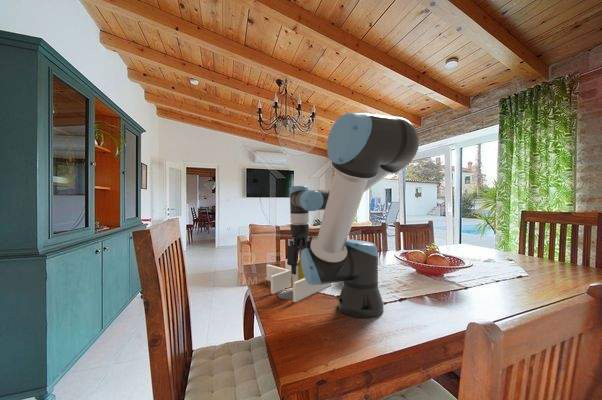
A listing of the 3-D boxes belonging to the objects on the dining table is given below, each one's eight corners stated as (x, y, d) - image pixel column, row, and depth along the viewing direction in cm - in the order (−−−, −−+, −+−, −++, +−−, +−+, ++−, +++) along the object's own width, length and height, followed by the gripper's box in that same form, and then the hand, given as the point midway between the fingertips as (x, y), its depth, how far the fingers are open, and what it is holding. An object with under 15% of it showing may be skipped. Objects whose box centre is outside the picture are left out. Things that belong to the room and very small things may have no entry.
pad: (302, 294, 100) (302, 293, 100) (288, 301, 94) (288, 300, 94) (288, 289, 106) (288, 288, 106) (273, 295, 100) (273, 294, 100)
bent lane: (331, 285, 110) (331, 269, 110) (295, 302, 93) (295, 283, 93) (287, 273, 128) (286, 259, 128) (250, 285, 111) (250, 269, 111)
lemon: (304, 283, 102) (304, 263, 102) (291, 281, 104) (291, 262, 104) (308, 278, 107) (308, 259, 107) (296, 277, 109) (296, 258, 109)
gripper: (307, 220, 114) (307, 272, 115) (276, 225, 100) (277, 283, 101) (320, 222, 109) (321, 275, 110) (290, 226, 95) (291, 288, 96)
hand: (300, 279), depth 105 cm, fingers closed on lemon, 5 cm apart
